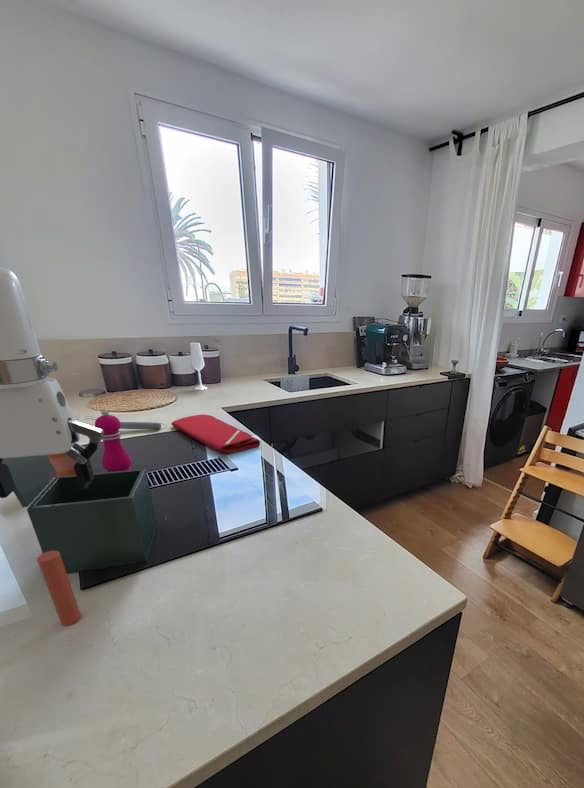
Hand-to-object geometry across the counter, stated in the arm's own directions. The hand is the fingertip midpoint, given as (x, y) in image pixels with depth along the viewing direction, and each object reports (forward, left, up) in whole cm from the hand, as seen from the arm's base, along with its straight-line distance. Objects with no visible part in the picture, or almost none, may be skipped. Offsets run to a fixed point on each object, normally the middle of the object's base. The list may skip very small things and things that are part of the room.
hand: (48, 489), depth 57 cm
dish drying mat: (+18, +87, -24) cm, 92 cm away
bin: (-1, +19, -24) cm, 30 cm away
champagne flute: (+9, +168, -24) cm, 170 cm away
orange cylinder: (-2, -1, -24) cm, 24 cm away
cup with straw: (-21, +60, -24) cm, 68 cm away
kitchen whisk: (-17, +101, -24) cm, 105 cm away
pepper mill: (-7, +57, -24) cm, 62 cm away
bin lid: (-11, +19, 0) cm, 22 cm away
